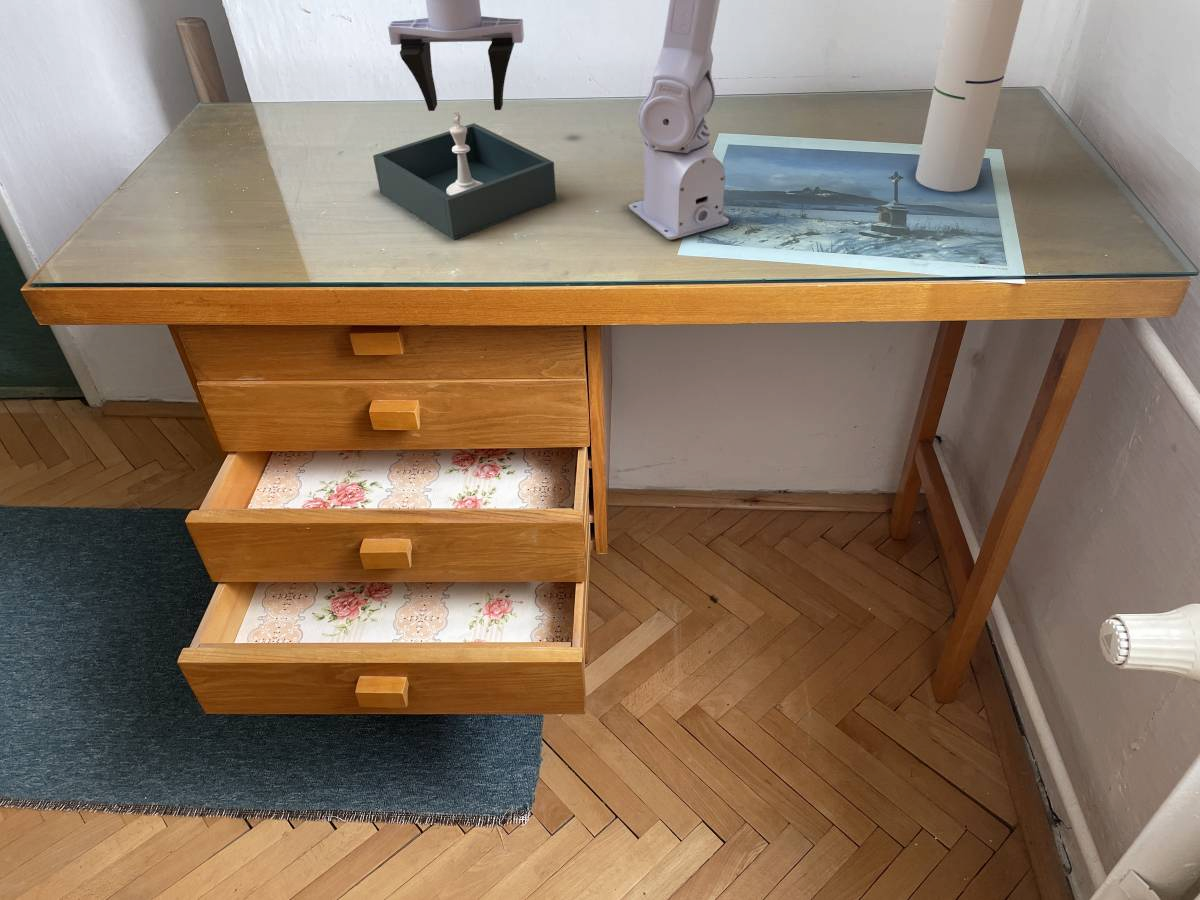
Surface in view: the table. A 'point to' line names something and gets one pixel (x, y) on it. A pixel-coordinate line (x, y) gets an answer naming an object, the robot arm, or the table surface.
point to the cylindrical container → (966, 92)
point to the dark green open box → (493, 160)
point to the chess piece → (461, 159)
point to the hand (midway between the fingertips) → (465, 107)
